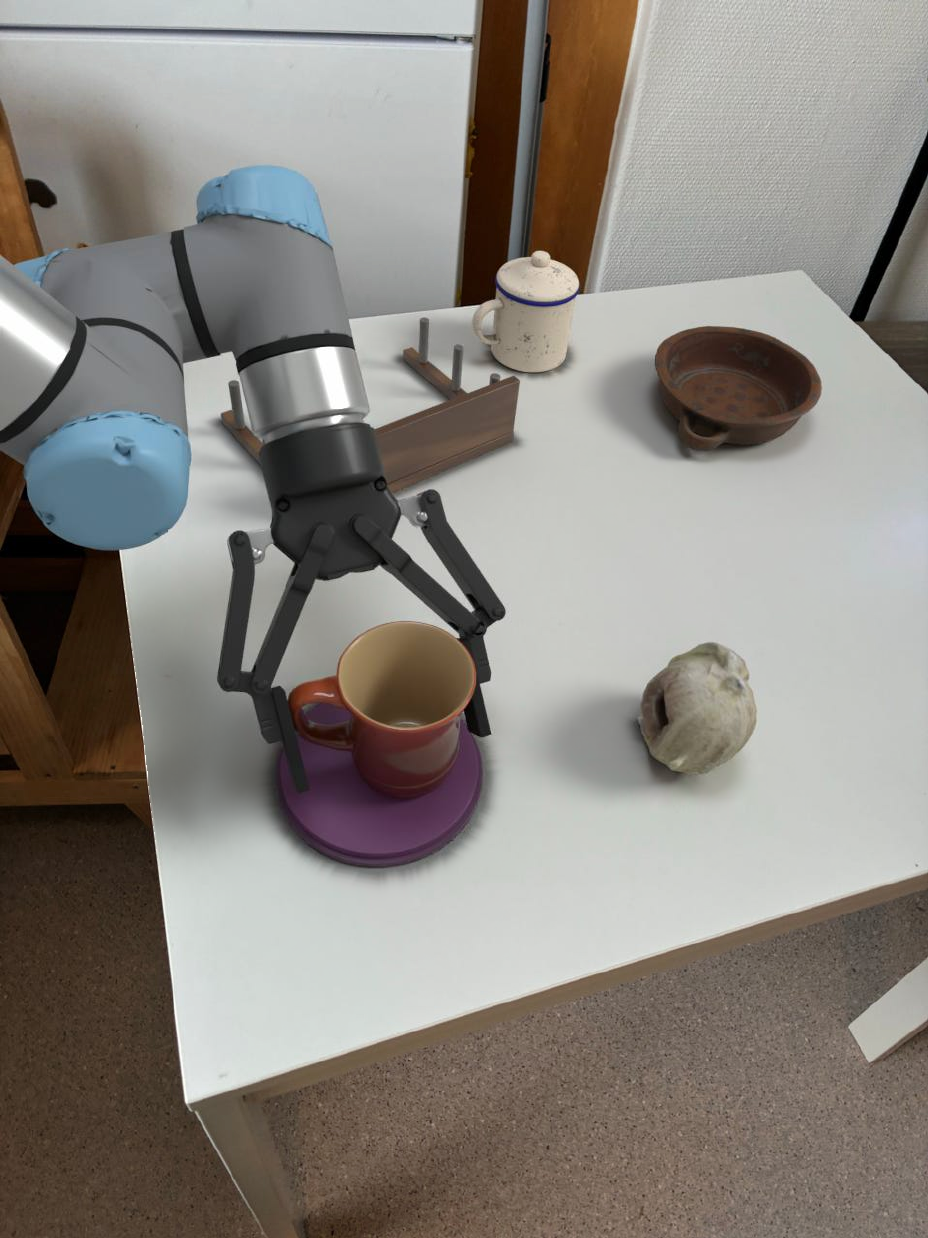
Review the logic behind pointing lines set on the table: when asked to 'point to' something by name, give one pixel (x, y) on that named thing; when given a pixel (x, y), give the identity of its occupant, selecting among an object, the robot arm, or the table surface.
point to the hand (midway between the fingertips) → (393, 759)
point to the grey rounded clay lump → (698, 709)
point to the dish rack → (425, 422)
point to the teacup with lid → (530, 313)
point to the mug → (394, 706)
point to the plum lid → (374, 803)
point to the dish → (734, 385)
